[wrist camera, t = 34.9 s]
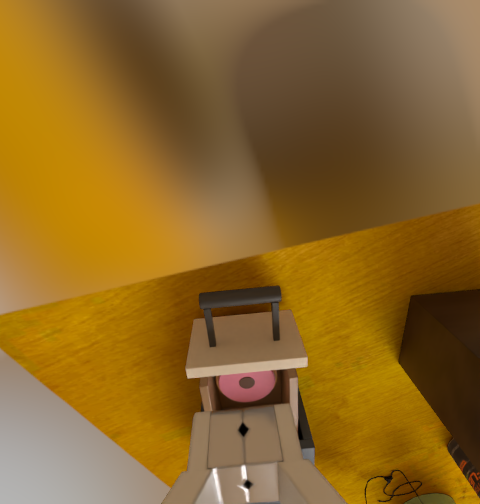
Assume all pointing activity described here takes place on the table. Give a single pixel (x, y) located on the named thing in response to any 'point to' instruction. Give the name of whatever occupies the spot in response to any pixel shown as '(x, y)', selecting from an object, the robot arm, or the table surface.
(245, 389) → the donut
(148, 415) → the table surface
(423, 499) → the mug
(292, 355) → the drawer
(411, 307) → the stand
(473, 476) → the pill bottle
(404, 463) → the table surface
